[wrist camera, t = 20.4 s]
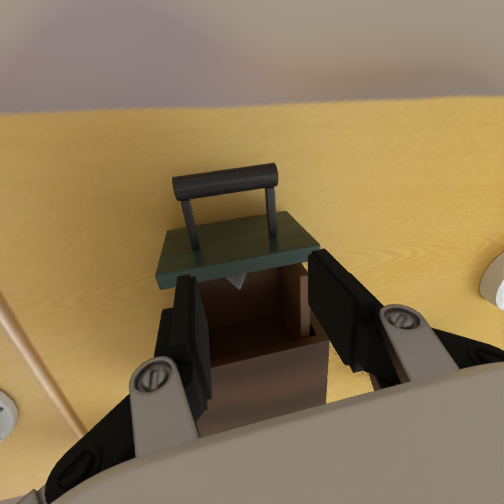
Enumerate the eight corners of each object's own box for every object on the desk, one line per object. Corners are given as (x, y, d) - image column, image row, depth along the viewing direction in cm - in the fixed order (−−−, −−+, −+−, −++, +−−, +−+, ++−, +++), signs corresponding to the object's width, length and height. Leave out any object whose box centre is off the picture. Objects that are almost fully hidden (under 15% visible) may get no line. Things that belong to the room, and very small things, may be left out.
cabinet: (182, 300, 28) (176, 376, 20) (291, 278, 30) (329, 340, 21) (205, 379, 35) (208, 462, 26) (294, 358, 36) (324, 429, 28)
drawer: (149, 169, 21) (126, 193, 14) (284, 151, 22) (323, 164, 15) (194, 330, 29) (194, 394, 22) (290, 310, 31) (317, 364, 24)
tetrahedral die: (220, 284, 27) (225, 308, 25) (216, 267, 25) (220, 293, 23) (252, 276, 27) (259, 300, 25) (250, 259, 25) (258, 284, 23)
